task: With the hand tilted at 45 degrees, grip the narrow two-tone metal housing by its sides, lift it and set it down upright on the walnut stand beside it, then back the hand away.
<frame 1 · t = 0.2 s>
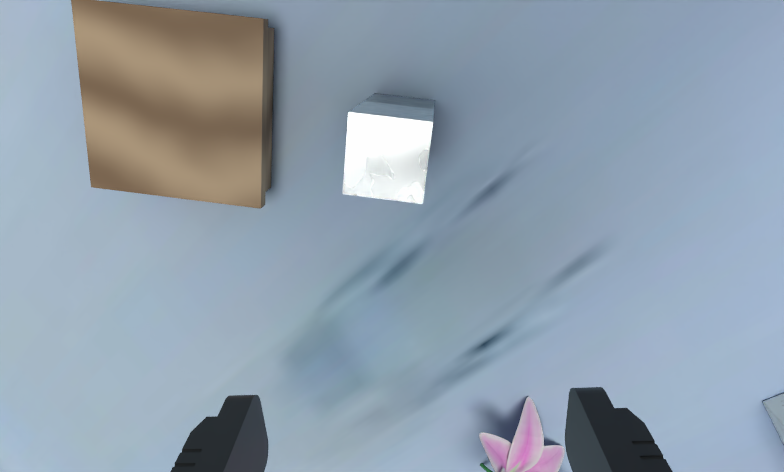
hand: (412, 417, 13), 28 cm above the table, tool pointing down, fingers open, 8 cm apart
walnut stand: (196, 103, 40), on the table
lily: (516, 442, 48), on the table
metal housing: (401, 127, 39), on the table
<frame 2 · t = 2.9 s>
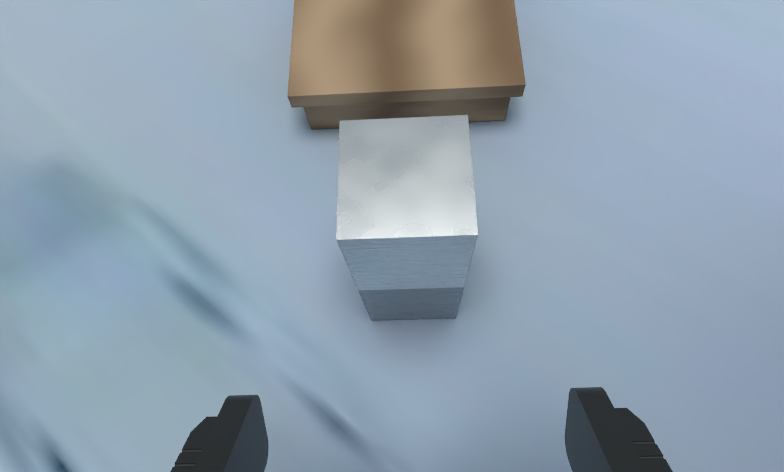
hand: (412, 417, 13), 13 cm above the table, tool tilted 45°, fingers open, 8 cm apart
walnut stand: (404, 48, 34), on the table
metal housing: (412, 279, 28), on the table
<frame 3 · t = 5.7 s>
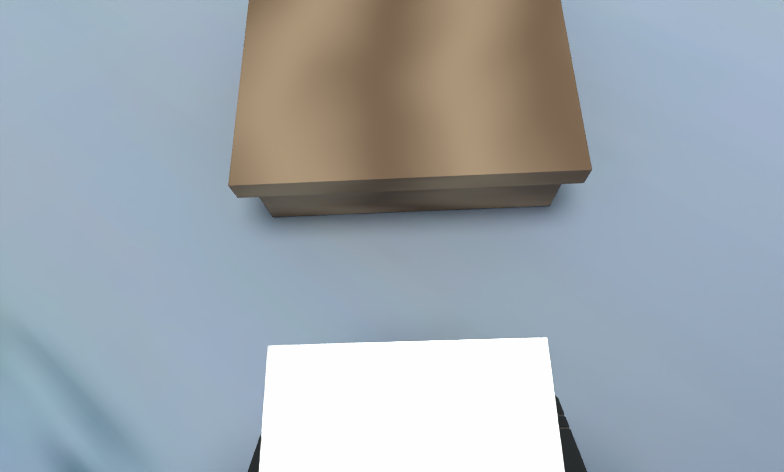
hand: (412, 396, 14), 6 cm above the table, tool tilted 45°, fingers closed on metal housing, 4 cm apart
walnut stand: (405, 96, 24), on the table
metal housing: (417, 463, 19), on the table, touching gripper
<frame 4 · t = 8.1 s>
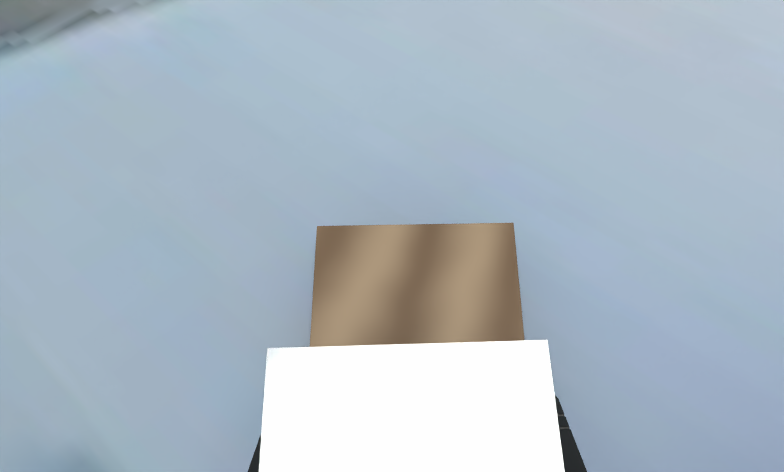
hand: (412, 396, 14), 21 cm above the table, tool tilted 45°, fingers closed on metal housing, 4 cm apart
walnut stand: (416, 334, 35), on the table
metal housing: (417, 464, 19), point 15 cm above the table, touching gripper
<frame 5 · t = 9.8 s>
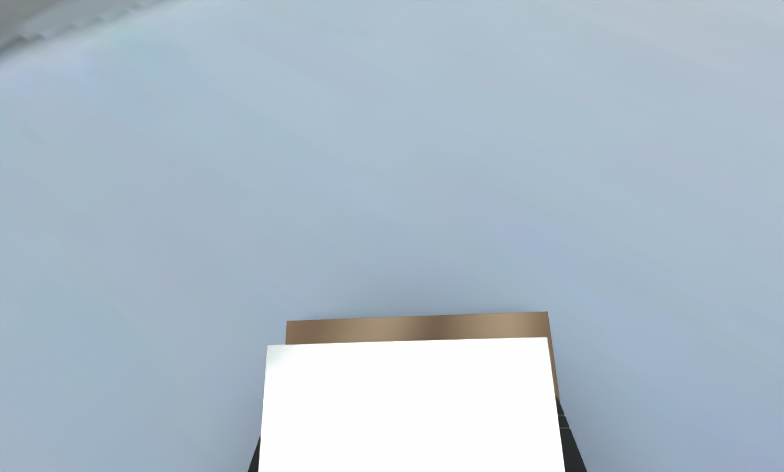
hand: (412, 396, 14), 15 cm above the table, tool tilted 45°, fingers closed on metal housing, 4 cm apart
walnut stand: (422, 455, 27), on the table
metal housing: (417, 463, 19), point 9 cm above the table, touching gripper
when the fingers open (11 cm above the table, at t = 10.9 s): metal housing drops 1 cm, resting on walnut stand.
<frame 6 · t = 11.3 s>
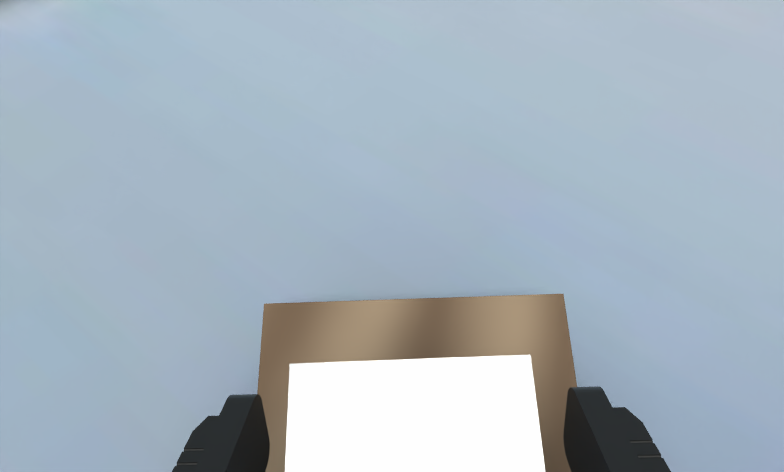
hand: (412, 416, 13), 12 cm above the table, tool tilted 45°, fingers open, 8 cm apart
walnut stand: (418, 458, 24), on the table
metal housing: (419, 463, 20), point 4 cm above the table, touching walnut stand
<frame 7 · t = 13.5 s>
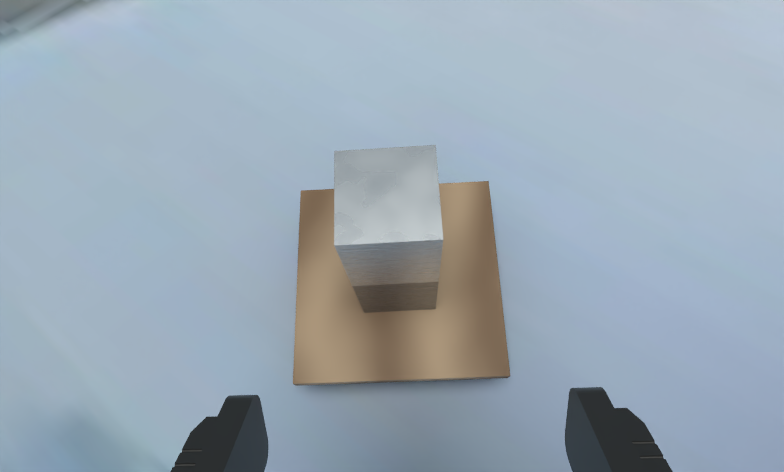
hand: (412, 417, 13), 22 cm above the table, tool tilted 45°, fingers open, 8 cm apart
walnut stand: (399, 292, 37), on the table
metal housing: (398, 276, 33), point 4 cm above the table, touching walnut stand
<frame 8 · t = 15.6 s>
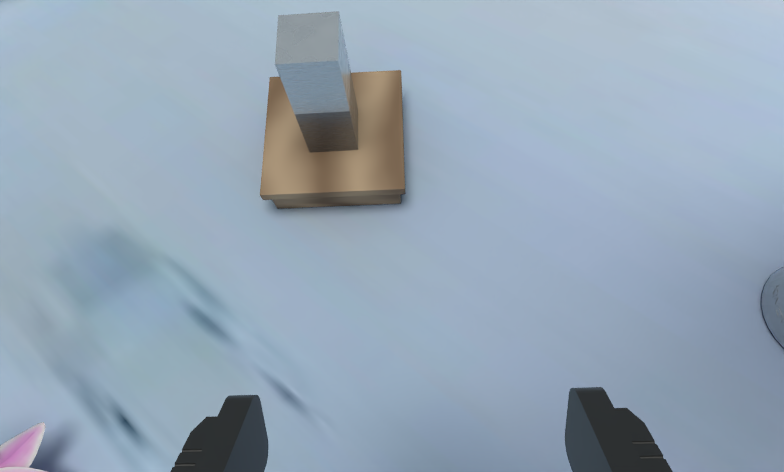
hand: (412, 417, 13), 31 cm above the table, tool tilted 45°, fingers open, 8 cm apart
walnut stand: (339, 152, 52), on the table
metal housing: (334, 130, 48), point 4 cm above the table, touching walnut stand
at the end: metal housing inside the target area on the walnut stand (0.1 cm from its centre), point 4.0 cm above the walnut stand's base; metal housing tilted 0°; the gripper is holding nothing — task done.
